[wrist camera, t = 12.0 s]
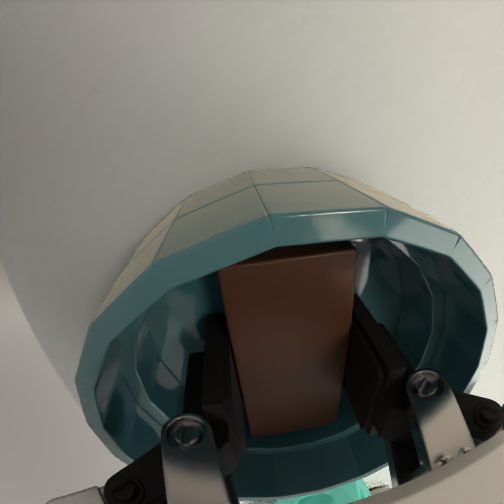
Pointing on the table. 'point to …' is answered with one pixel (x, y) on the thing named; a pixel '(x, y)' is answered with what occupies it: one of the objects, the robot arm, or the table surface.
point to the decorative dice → (333, 495)
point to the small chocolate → (290, 333)
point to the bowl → (210, 302)
